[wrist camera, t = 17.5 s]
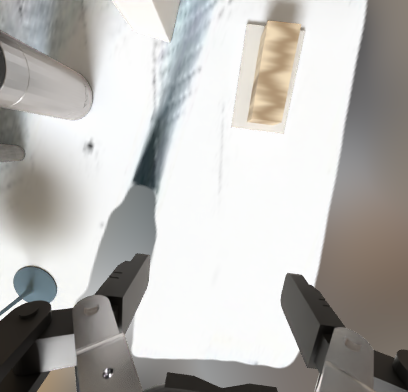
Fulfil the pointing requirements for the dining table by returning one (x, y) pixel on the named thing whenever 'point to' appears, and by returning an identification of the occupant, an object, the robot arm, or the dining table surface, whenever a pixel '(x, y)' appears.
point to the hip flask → (11, 153)
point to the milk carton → (150, 16)
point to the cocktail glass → (33, 286)
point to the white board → (247, 80)
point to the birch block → (273, 72)
